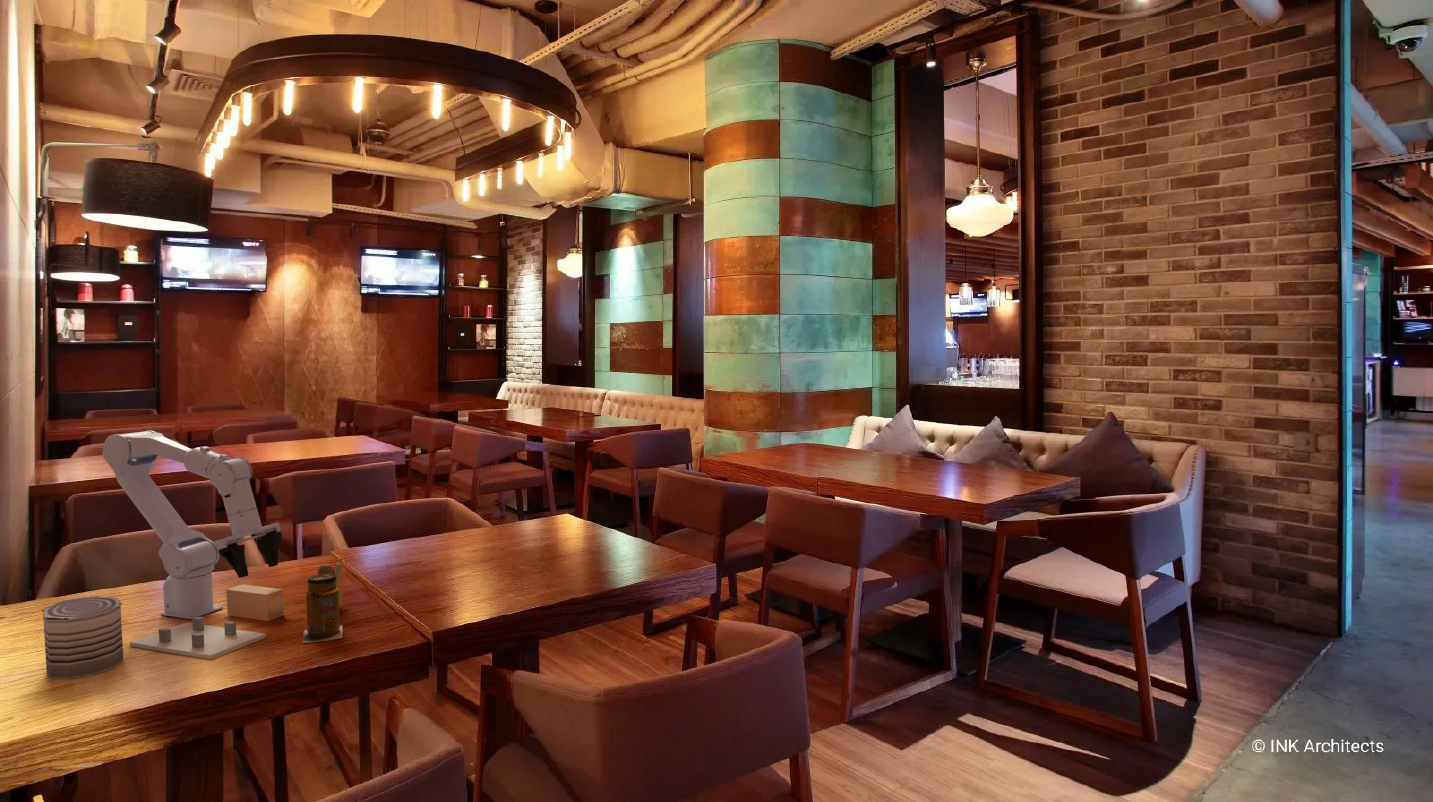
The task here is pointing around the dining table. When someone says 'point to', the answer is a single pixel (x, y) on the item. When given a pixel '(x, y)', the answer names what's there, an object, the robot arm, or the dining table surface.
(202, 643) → the cradle jig
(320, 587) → the condiment
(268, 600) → the block
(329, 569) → the snail figurine
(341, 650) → the dining table surface
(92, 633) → the can
